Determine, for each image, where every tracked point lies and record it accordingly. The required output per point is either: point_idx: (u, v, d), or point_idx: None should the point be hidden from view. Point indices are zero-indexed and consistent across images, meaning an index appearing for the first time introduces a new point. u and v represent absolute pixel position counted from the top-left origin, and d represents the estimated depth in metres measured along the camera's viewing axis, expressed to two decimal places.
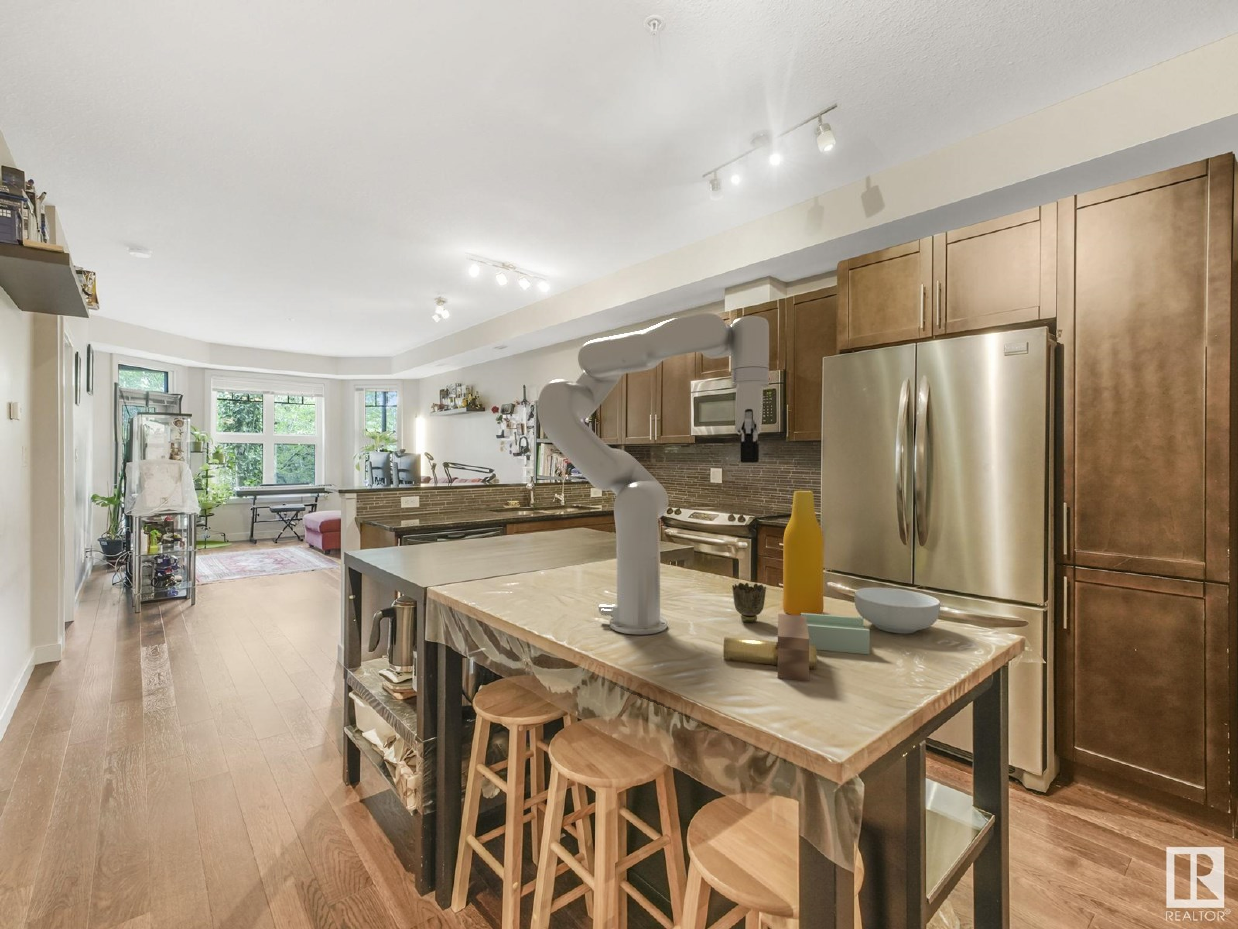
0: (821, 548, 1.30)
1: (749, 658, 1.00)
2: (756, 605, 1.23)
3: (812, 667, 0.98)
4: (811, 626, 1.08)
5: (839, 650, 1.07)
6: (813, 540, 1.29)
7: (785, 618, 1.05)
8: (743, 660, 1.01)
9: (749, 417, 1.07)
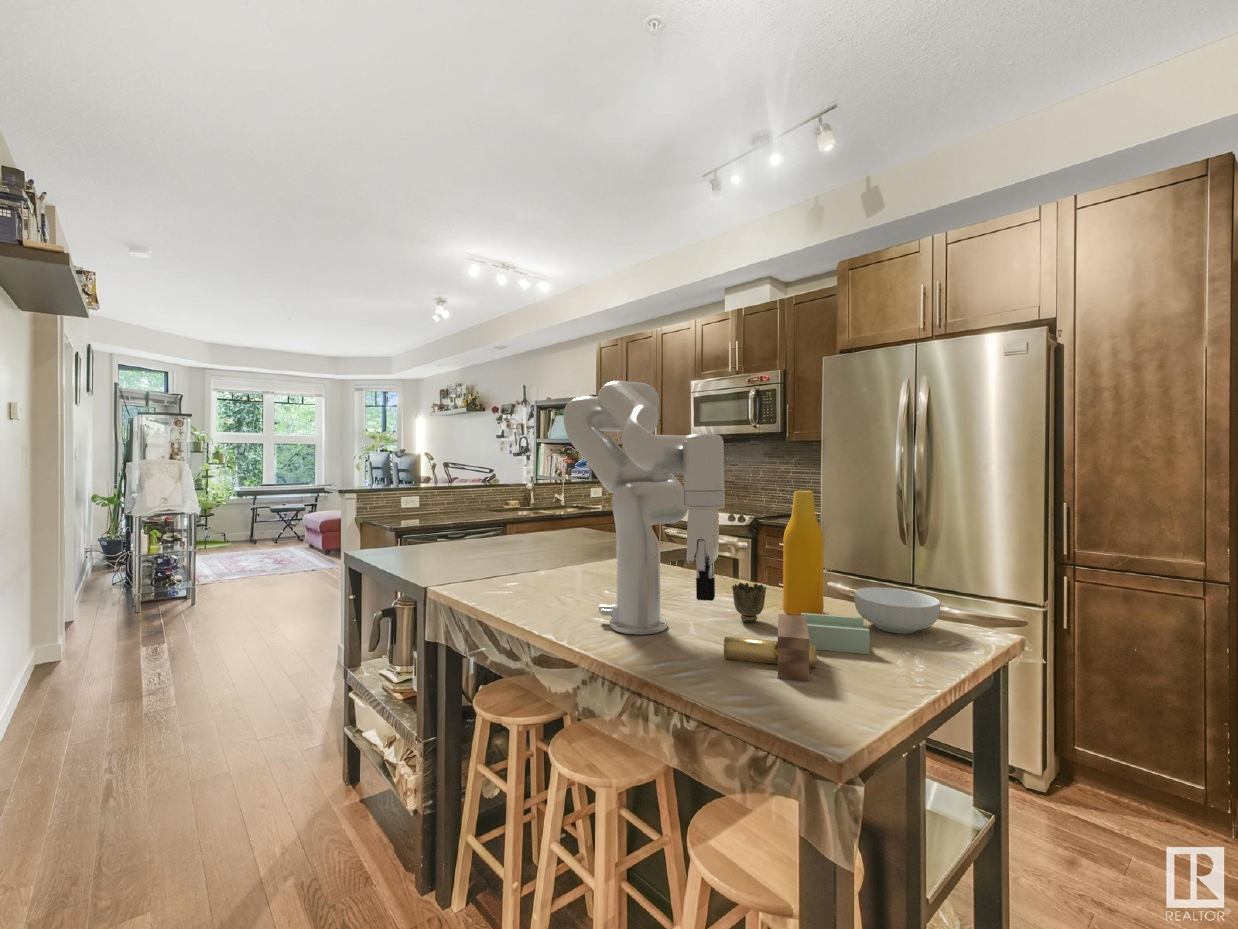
0: (821, 548, 1.30)
1: (749, 656, 1.01)
2: (756, 605, 1.23)
3: (812, 665, 0.98)
4: (811, 626, 1.08)
5: (839, 650, 1.07)
6: (813, 540, 1.29)
7: (785, 618, 1.05)
8: (743, 658, 1.01)
9: (702, 565, 0.99)
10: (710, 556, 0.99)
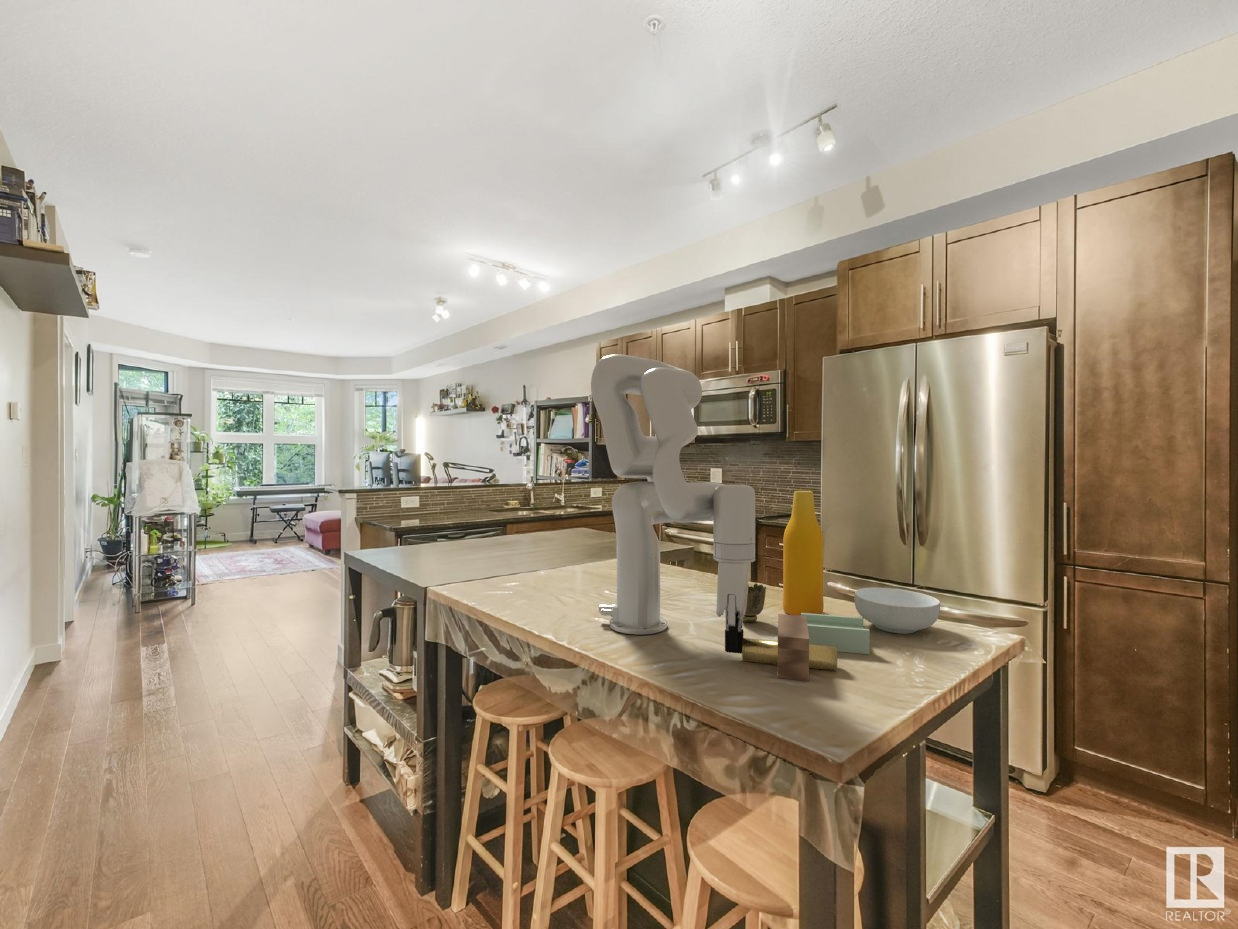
0: (821, 548, 1.30)
1: (768, 660, 1.00)
2: (756, 605, 1.23)
3: (832, 669, 0.97)
4: (811, 626, 1.08)
5: (839, 650, 1.07)
6: (813, 540, 1.29)
7: (785, 618, 1.05)
8: (762, 661, 1.00)
9: (732, 621, 0.98)
10: (741, 611, 0.98)
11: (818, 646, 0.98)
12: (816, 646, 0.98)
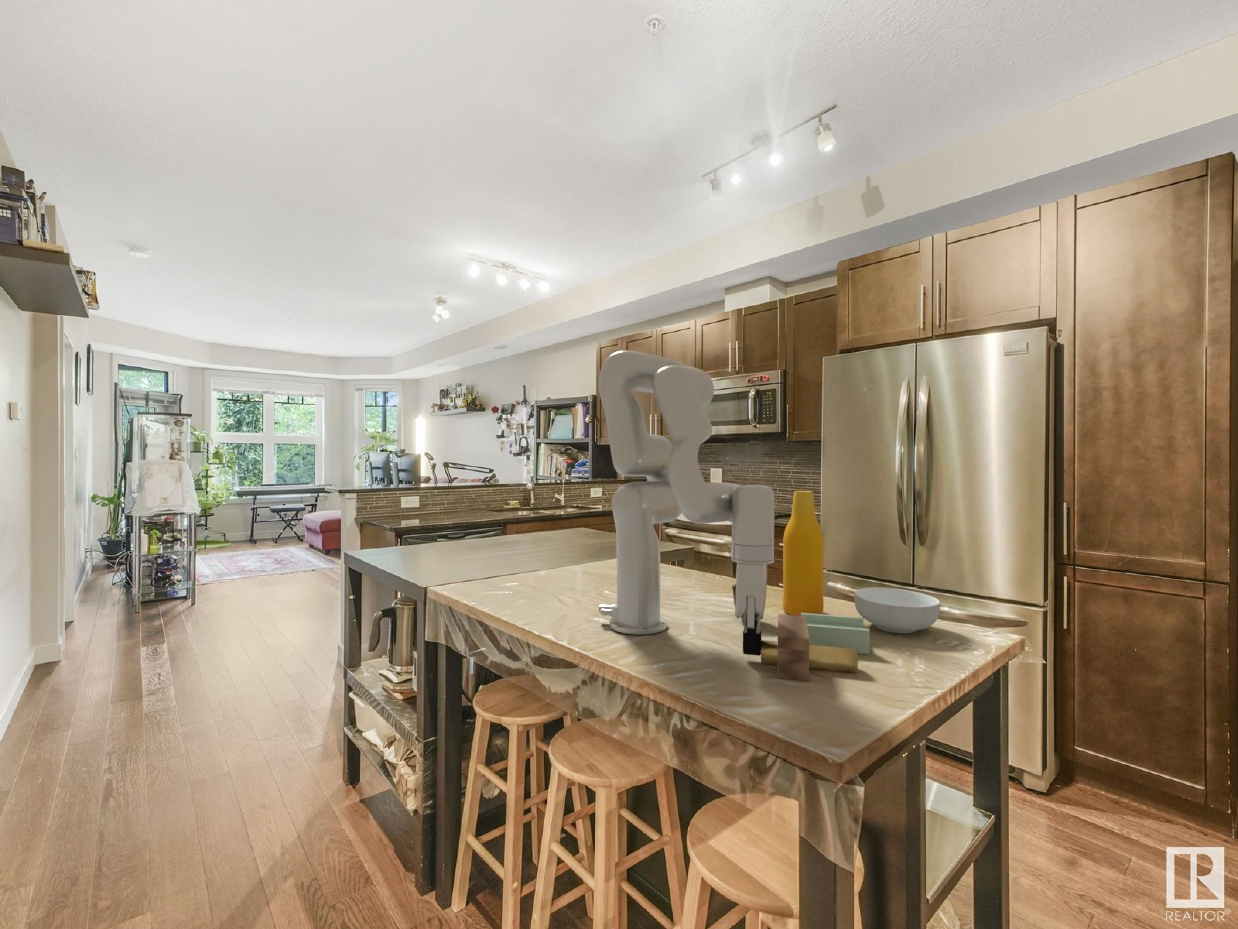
0: (821, 548, 1.30)
1: None
2: None
3: (852, 671, 0.96)
4: (811, 626, 1.08)
5: None
6: (813, 540, 1.29)
7: (785, 618, 1.05)
8: None
9: (752, 623, 0.97)
10: (760, 613, 0.97)
11: (838, 648, 0.98)
12: (836, 648, 0.98)
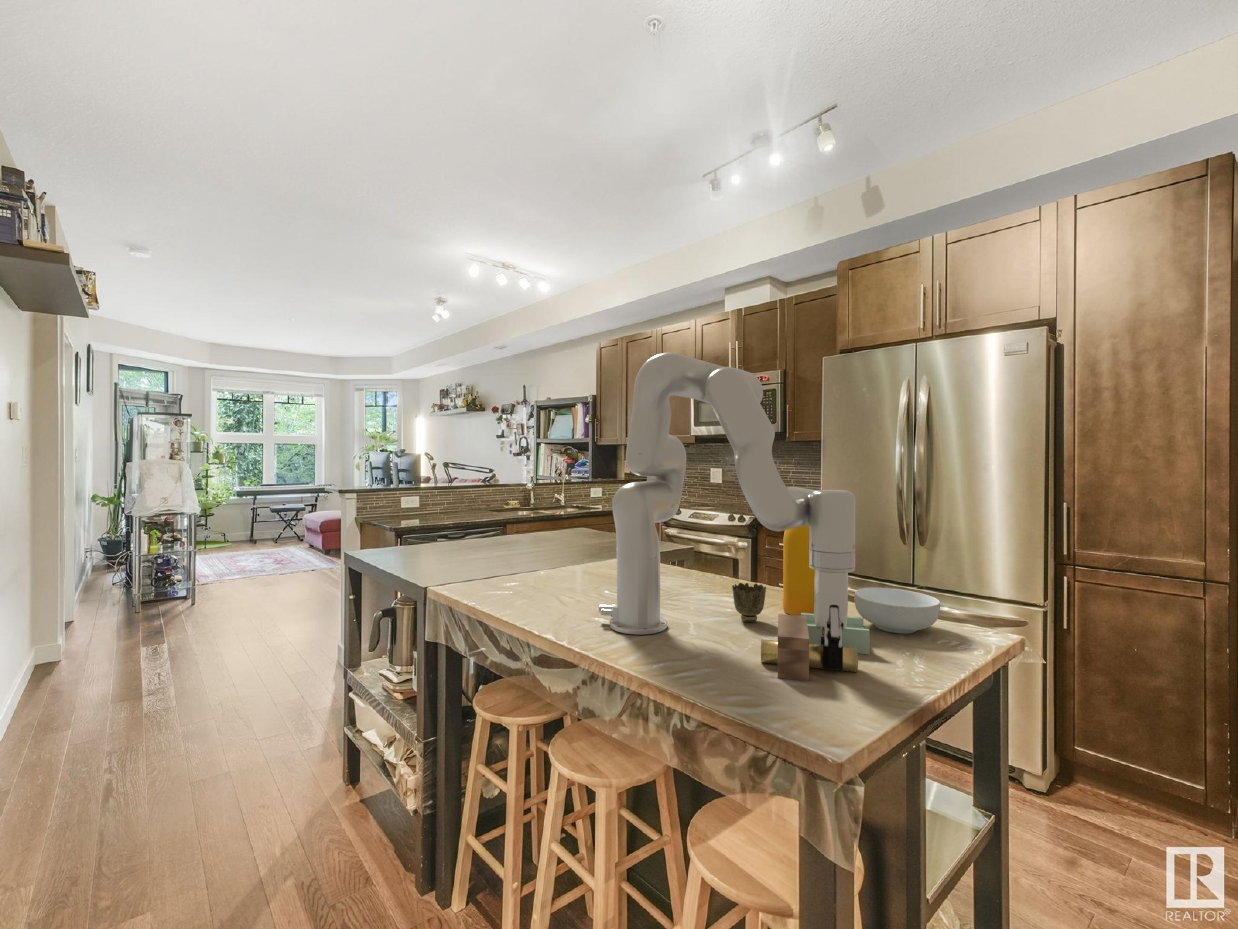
0: None
1: None
2: (756, 605, 1.23)
3: (853, 670, 0.96)
4: (811, 626, 1.08)
5: None
6: None
7: (785, 618, 1.05)
8: None
9: (836, 630, 0.92)
10: (844, 623, 0.93)
11: None
12: None
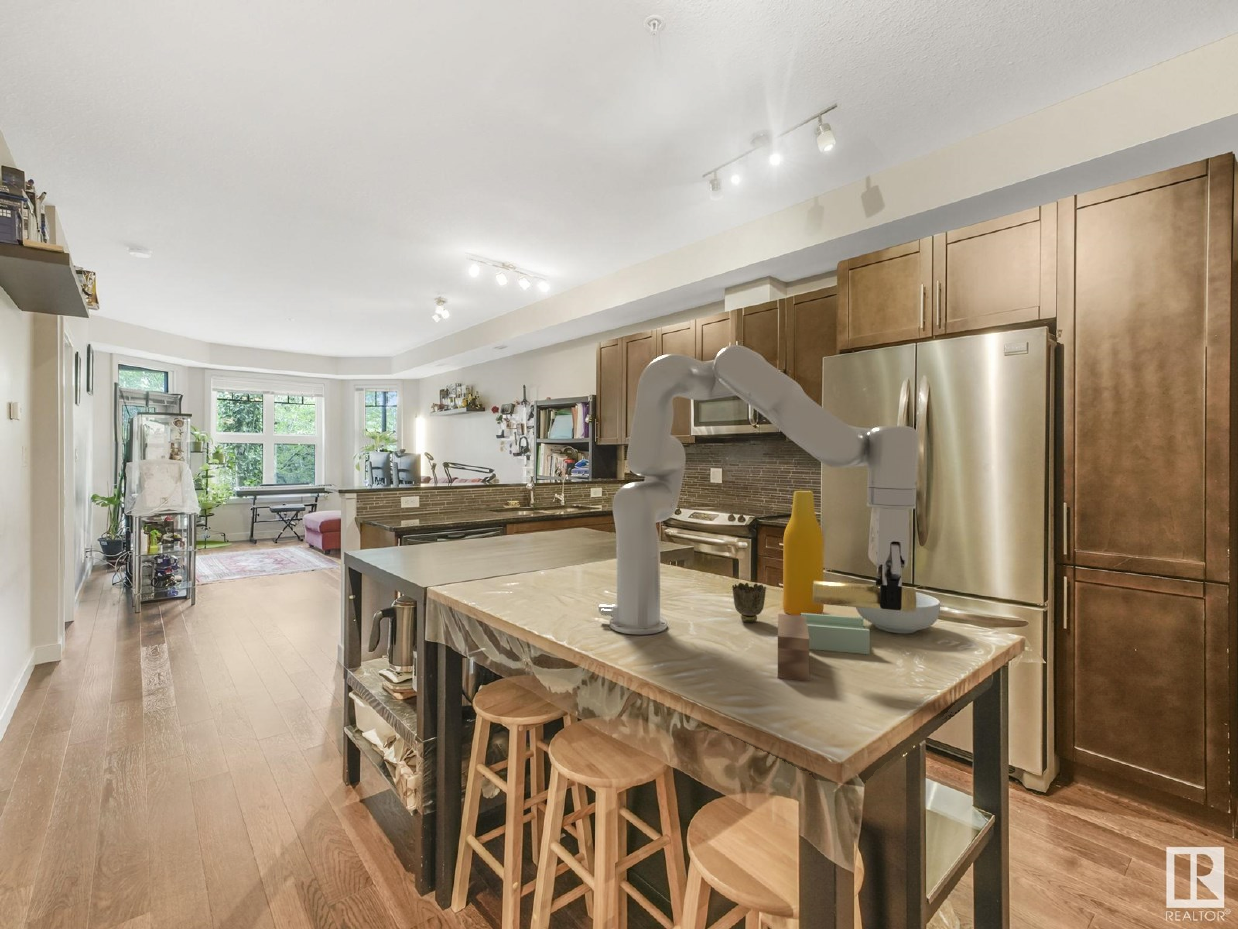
0: (821, 548, 1.30)
1: (842, 602, 0.96)
2: (756, 605, 1.23)
3: (910, 610, 0.94)
4: (811, 626, 1.08)
5: (839, 650, 1.07)
6: (813, 540, 1.29)
7: (785, 618, 1.05)
8: (835, 604, 0.97)
9: (898, 567, 0.89)
10: (905, 560, 0.90)
11: None
12: None
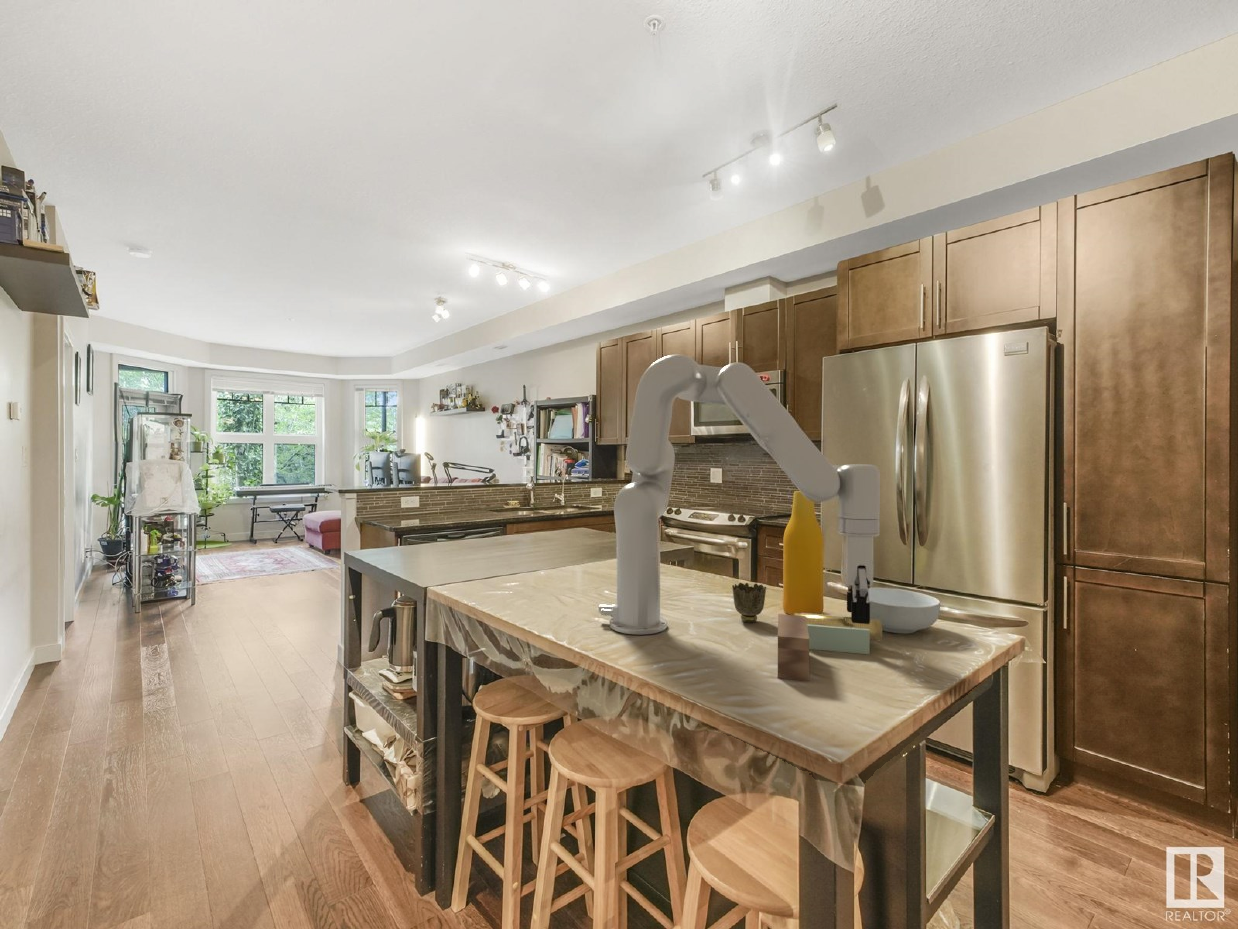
0: (821, 548, 1.30)
1: None
2: (756, 605, 1.23)
3: (877, 639, 1.08)
4: (811, 626, 1.08)
5: (839, 650, 1.07)
6: (813, 540, 1.29)
7: (785, 618, 1.05)
8: None
9: (864, 583, 1.03)
10: (870, 581, 1.05)
11: None
12: None
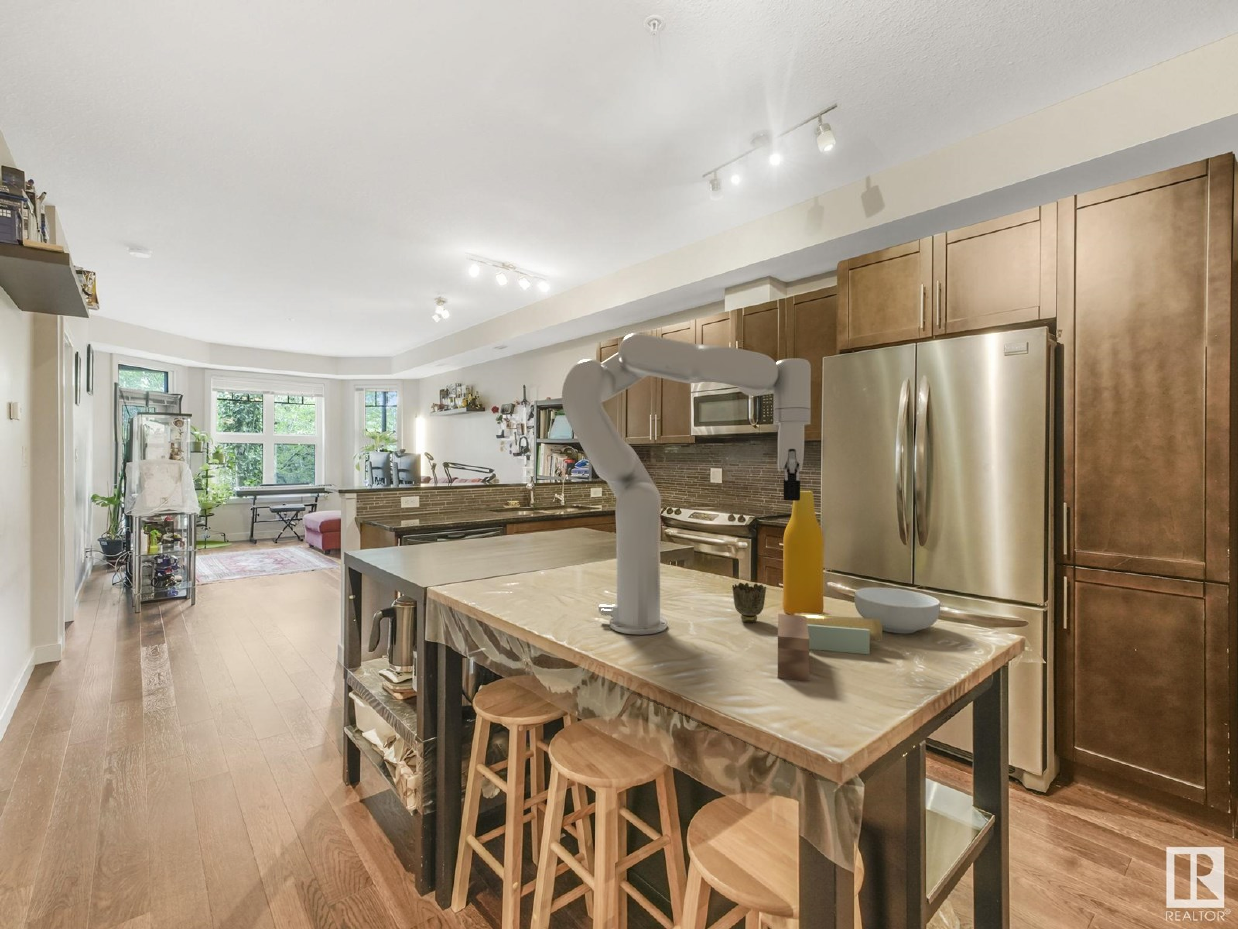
0: (821, 548, 1.30)
1: None
2: (756, 605, 1.23)
3: (877, 639, 1.08)
4: (811, 626, 1.08)
5: (839, 650, 1.07)
6: (813, 540, 1.29)
7: (785, 618, 1.05)
8: None
9: (793, 458, 1.11)
10: (800, 463, 1.14)
11: (864, 619, 1.09)
12: (862, 619, 1.09)
